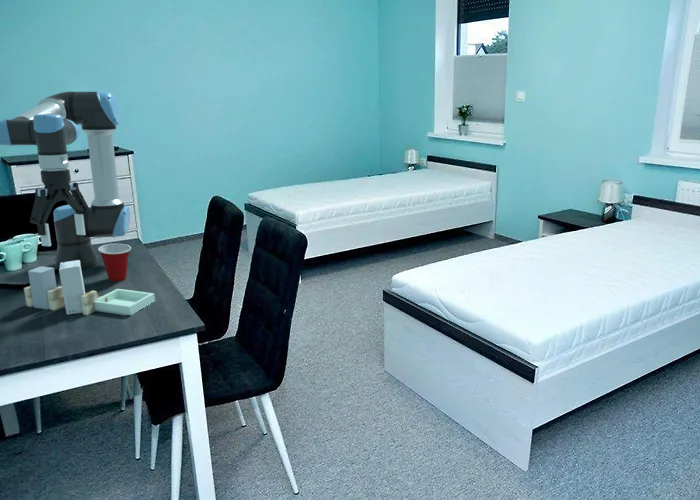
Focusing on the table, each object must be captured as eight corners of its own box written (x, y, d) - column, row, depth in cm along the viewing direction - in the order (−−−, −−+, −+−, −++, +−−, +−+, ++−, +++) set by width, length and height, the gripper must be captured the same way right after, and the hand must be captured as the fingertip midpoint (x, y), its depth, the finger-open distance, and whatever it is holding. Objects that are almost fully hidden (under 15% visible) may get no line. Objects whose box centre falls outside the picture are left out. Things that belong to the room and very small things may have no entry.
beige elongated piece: (48, 296, 184) (46, 279, 182) (108, 304, 177) (106, 286, 176) (26, 306, 175) (23, 288, 174) (87, 315, 169) (85, 296, 167)
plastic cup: (120, 285, 194) (116, 252, 191) (95, 282, 197) (91, 249, 194) (140, 276, 204) (137, 244, 201) (116, 272, 207) (113, 241, 204)
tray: (118, 297, 184) (117, 288, 183) (155, 302, 180) (154, 293, 179) (92, 310, 173) (91, 301, 172) (131, 316, 169) (130, 306, 168)
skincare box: (87, 312, 171) (80, 266, 167) (65, 315, 169) (58, 269, 164) (86, 303, 178) (81, 258, 174) (65, 305, 176) (59, 261, 172)
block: (46, 301, 179) (40, 266, 176) (59, 303, 178) (53, 267, 174) (33, 307, 175) (27, 271, 171) (46, 309, 173) (41, 272, 170)
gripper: (30, 175, 148) (41, 252, 154) (96, 164, 171) (103, 231, 177) (7, 174, 150) (19, 249, 156) (76, 163, 173) (84, 229, 179)
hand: (64, 240), depth 167 cm, fingers open, 13 cm apart
